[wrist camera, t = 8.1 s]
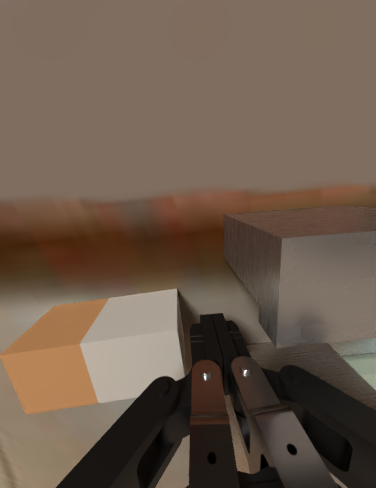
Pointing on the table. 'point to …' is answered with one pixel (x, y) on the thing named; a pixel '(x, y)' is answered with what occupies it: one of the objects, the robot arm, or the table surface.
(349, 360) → the tray
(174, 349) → the two-tone eraser block
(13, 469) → the table surface
